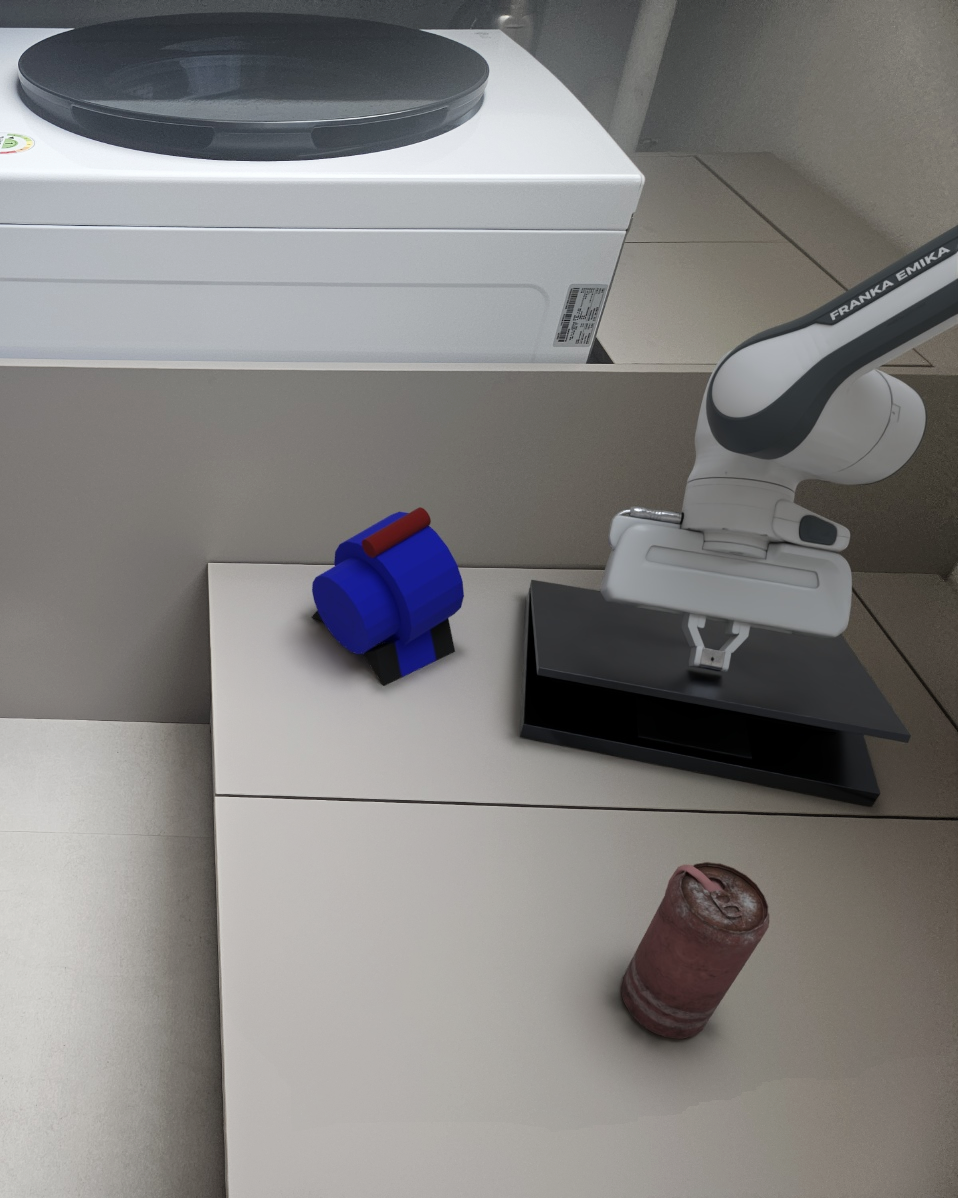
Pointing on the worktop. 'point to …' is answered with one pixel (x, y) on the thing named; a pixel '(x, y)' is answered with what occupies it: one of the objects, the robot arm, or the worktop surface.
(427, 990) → the worktop surface
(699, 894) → the can
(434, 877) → the worktop surface
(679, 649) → the laptop screen
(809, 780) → the laptop
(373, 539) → the alarm clock
